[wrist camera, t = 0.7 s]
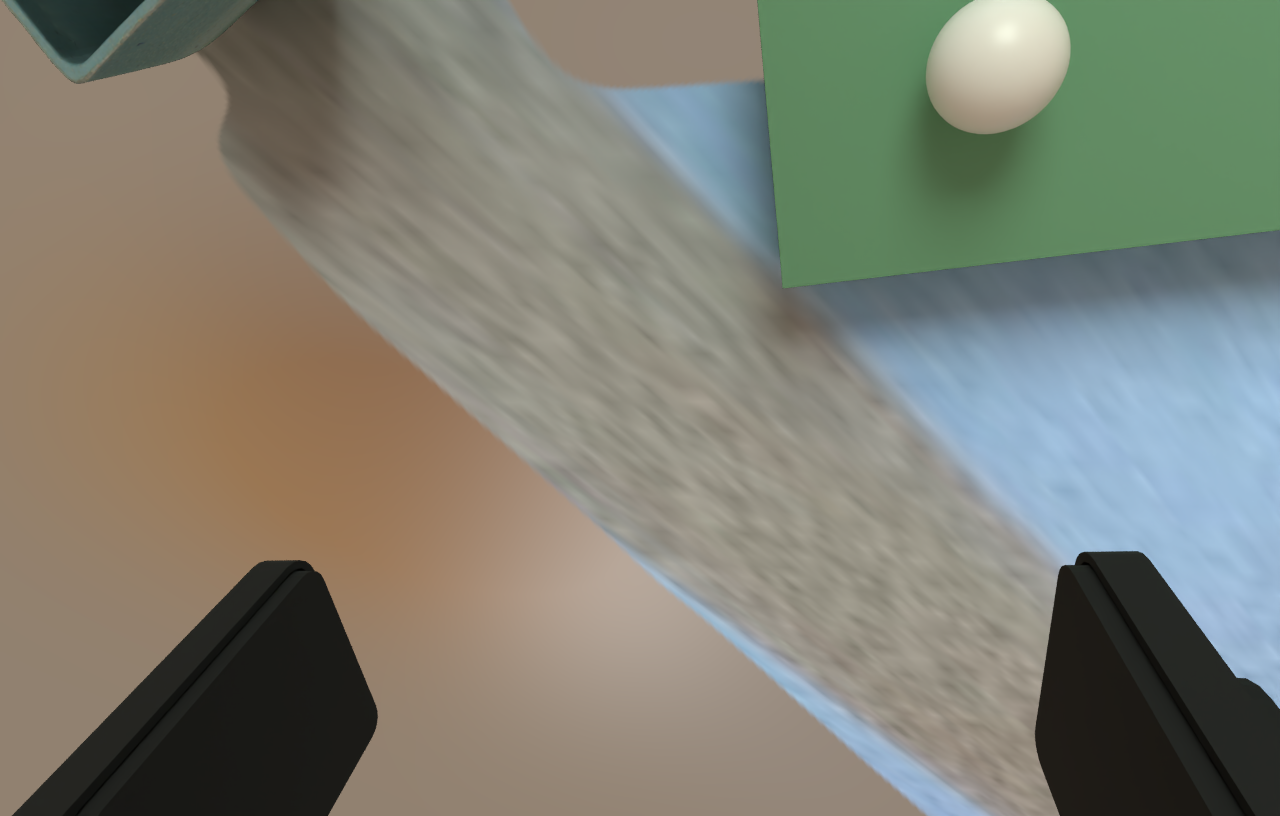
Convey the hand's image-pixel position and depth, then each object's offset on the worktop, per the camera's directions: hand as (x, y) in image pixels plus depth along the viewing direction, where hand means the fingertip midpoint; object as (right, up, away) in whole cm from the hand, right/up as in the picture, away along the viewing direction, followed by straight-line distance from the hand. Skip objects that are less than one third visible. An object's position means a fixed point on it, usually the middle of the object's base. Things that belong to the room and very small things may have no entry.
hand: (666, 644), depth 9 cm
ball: (+11, +14, +13) cm, 22 cm away
